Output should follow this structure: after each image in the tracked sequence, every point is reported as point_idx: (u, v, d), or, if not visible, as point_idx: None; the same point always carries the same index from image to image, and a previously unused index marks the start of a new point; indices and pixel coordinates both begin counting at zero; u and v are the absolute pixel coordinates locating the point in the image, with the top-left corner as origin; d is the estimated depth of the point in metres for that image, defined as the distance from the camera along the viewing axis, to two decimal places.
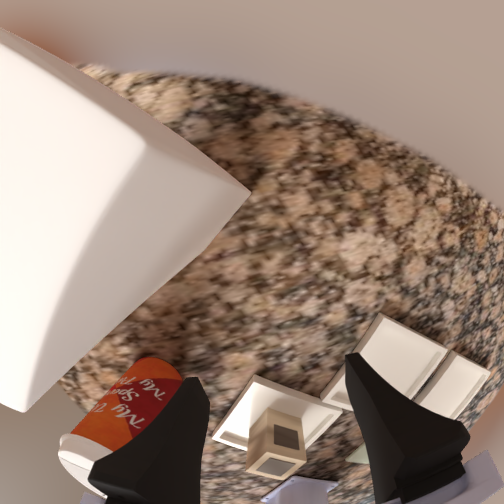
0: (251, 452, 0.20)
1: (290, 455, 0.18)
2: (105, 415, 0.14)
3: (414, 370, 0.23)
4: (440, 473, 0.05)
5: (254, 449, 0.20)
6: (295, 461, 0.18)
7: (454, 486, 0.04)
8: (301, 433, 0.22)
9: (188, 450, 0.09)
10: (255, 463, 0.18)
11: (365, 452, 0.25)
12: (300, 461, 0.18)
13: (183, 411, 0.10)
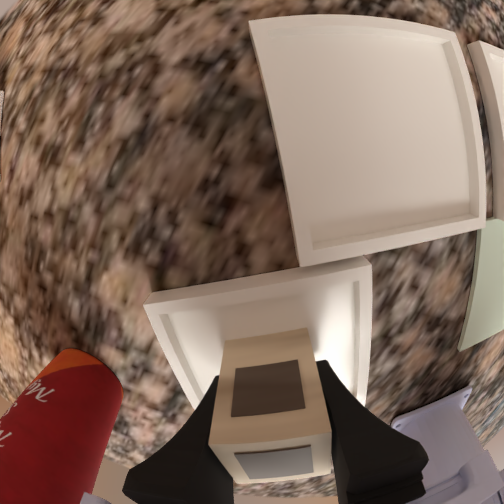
0: None
1: (277, 433, 0.07)
2: None
3: (439, 98, 0.09)
4: (398, 491, 0.05)
5: None
6: (303, 441, 0.07)
7: (454, 486, 0.04)
8: (309, 360, 0.10)
9: None
10: (228, 468, 0.08)
11: (482, 317, 0.13)
12: (315, 437, 0.07)
13: None
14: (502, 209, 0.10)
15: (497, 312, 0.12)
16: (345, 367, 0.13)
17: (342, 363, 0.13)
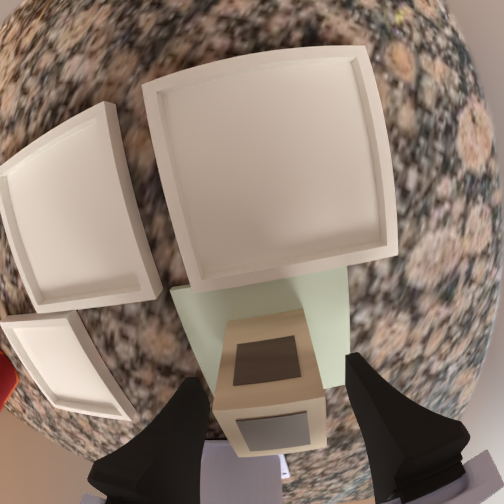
0: None
1: (276, 398, 0.09)
2: None
3: (94, 183, 0.12)
4: (440, 473, 0.05)
5: None
6: (299, 407, 0.08)
7: (454, 486, 0.04)
8: (305, 336, 0.12)
9: (188, 450, 0.09)
10: (230, 439, 0.09)
11: None
12: (310, 402, 0.08)
13: (183, 411, 0.10)
14: None
15: None
16: None
17: None
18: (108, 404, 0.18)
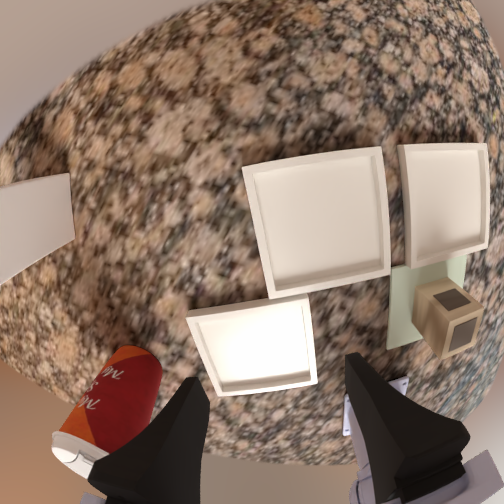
0: (432, 338, 0.18)
1: (468, 311, 0.16)
2: None
3: (360, 197, 0.19)
4: (440, 473, 0.05)
5: (433, 333, 0.18)
6: (475, 314, 0.15)
7: (454, 486, 0.04)
8: (459, 288, 0.19)
9: (188, 450, 0.09)
10: (445, 343, 0.16)
11: (402, 328, 0.23)
12: (479, 311, 0.15)
13: (183, 411, 0.10)
14: (409, 260, 0.20)
15: None
16: (301, 354, 0.24)
17: (299, 351, 0.24)
18: (293, 375, 0.25)
